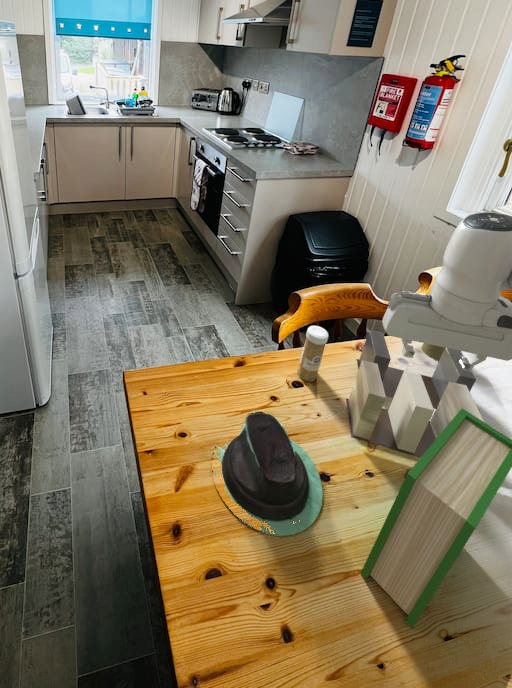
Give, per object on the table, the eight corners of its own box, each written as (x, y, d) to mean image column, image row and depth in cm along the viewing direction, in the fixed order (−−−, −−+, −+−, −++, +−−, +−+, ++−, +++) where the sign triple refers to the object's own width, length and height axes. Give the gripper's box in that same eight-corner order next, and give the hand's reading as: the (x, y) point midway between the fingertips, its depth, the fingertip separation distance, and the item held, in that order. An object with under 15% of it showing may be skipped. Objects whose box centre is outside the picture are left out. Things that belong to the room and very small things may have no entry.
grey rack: (445, 384, 95) (462, 349, 90) (461, 418, 86) (480, 382, 82) (355, 361, 100) (366, 327, 96) (361, 392, 92) (373, 356, 87)
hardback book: (411, 628, 55) (475, 528, 45) (360, 573, 60) (407, 473, 51) (461, 545, 64) (523, 447, 55) (413, 503, 70) (462, 408, 60)
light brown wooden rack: (446, 429, 84) (468, 384, 78) (463, 474, 75) (490, 427, 70) (344, 401, 89) (358, 357, 84) (349, 440, 80) (366, 394, 75)
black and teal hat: (191, 433, 79) (274, 409, 86) (225, 551, 69) (316, 513, 76) (217, 418, 68) (310, 391, 75) (262, 556, 58) (366, 511, 64)
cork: (443, 367, 100) (458, 333, 95) (416, 353, 104) (430, 320, 99) (449, 356, 103) (465, 323, 99) (424, 343, 107) (437, 310, 103)
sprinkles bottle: (306, 384, 93) (318, 340, 88) (292, 371, 97) (303, 327, 91) (320, 378, 95) (333, 335, 89) (306, 365, 99) (318, 322, 93)
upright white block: (403, 415, 85) (420, 374, 80) (414, 453, 77) (434, 410, 72) (387, 411, 86) (404, 370, 81) (397, 448, 78) (415, 405, 73)
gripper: (397, 299, 69) (377, 359, 74) (540, 326, 63) (507, 389, 68) (389, 279, 74) (371, 337, 80) (520, 303, 68) (491, 363, 74)
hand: (435, 361), depth 74 cm, fingers open, 8 cm apart
